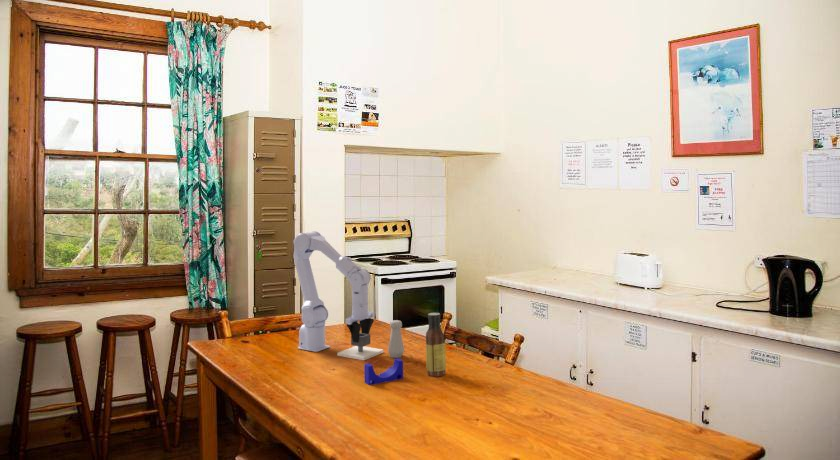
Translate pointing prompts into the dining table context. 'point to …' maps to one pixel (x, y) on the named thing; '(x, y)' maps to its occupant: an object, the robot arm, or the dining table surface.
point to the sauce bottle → (435, 347)
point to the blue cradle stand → (384, 373)
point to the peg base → (360, 352)
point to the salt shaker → (396, 340)
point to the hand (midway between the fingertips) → (360, 340)
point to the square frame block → (362, 340)
